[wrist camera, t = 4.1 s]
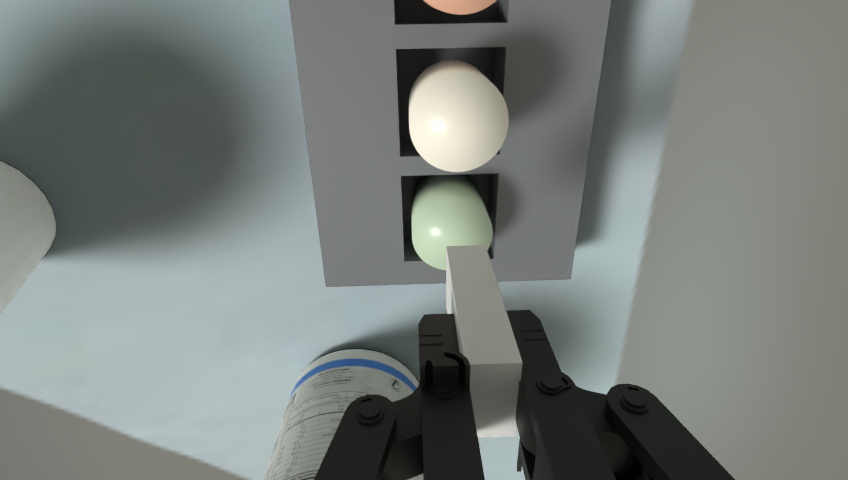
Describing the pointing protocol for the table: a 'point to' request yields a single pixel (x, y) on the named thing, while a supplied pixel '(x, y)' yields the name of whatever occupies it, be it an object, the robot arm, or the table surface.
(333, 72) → the button panel
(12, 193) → the cup
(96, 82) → the table surface
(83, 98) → the table surface
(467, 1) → the button terracotta
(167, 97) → the table surface
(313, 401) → the supplement tub
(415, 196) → the button sage
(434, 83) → the button cream
